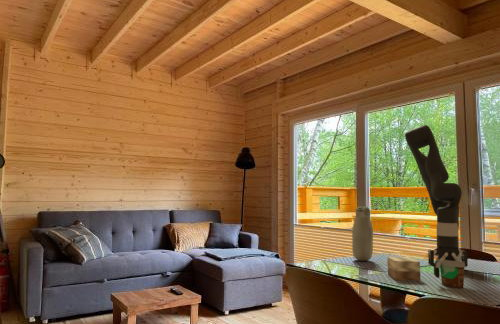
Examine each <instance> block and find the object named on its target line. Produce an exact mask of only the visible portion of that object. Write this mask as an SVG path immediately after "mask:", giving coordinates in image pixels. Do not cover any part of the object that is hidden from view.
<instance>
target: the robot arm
mask: <svg viewBox="0 0 500 324" xmlns="http://www.w3.org/2000/svg"><path fill="white" fill-rule="evenodd" d="M404 137H405V141H406V143H407V146H408V148H409V149H410V152H411V154H412V155H413V158H414V160H415V162H416V164H417V165H416V166H417V168H418V171H419V174H420V176H421V179H422V181H423V183H424V185H425V188H426V191H427V193H428V197H429V200H430V203H431V206H432V207H431V208H432V209H433V213H434V214H435V215H436V249H428V251H427V253H428V255H427V257H428V260H427V261H428V262H427V263H428V265H429V266H431V267H433V274H434V276H435V278H438V279H439V278H441V271H440V264H441V263H442V262H443V261H444V260H450V261H454V260H455V261H462V262H464V263H465V267H464V268H467V267H468V251H467V250H464V249H462V248H461V247H460V239H459V236H460V235H459V225H460V202H461V199H462V196H463V195H462V194H463V191H462V188H461V186H460V185H459V184H458V183H456V182H447V181H448V180H449V178H450V177H449V176H450V174H449V172H448V170H447V168H446V166H445V165H444V162H443V159H442V157H441V153H440V151H439V147H438V144H437V142H436V139H435V135H434V133H433V131H432V128H431V127H430V126H429V125H427V124H424V125H420V126H418V127H415V128H411V129H409V130H407V131H405V133H404ZM427 146H428V147H429V148H428V152H427V155H425V154H424V153H423V152H421V150H420V149H421V148H425V147H427ZM436 255H437V257H436V259H435V256H436Z"/></svg>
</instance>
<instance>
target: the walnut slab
mask: <svg viewBox="0 0 500 324" xmlns="http://www.w3.org/2000/svg"><path fill="white" fill-rule="evenodd" d="M387 275H388V277H390V278H391V279H393V280H394V281H406V280H416V281H415V282H420V281H421V271H420V272H412V271H394V270H392V269H391V268H389V267H388V266H387Z"/></svg>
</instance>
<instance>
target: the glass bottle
mask: <svg viewBox="0 0 500 324" xmlns="http://www.w3.org/2000/svg"><path fill="white" fill-rule="evenodd" d="M351 232H352V233H351V235H352V236H351V240H352V242H351V244H352V245H351V246H352V251H351V252H352V256H353V257H354V258H355V260H356V261H359V262H366V261H367V262H368V261H370V260H371V259H372V258H373V250H374V246H373V245H374V242H373V241H374V229H373V224H372V220H371V210H370V208H369V207H368V206H363V205H361V206H358V207H356V209H355V217H354V222H353V226H352V230H351Z"/></svg>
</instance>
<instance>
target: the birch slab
mask: <svg viewBox="0 0 500 324" xmlns="http://www.w3.org/2000/svg"><path fill="white" fill-rule="evenodd" d="M386 257H387V268H388V267H389V268H391V269H392V270H394V271H412V272H420V273H421V261H419V260H417V259H415V258H413V257H409V256H408V257H404V256H402V257H401V256H397V257H396V256H386Z"/></svg>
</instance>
